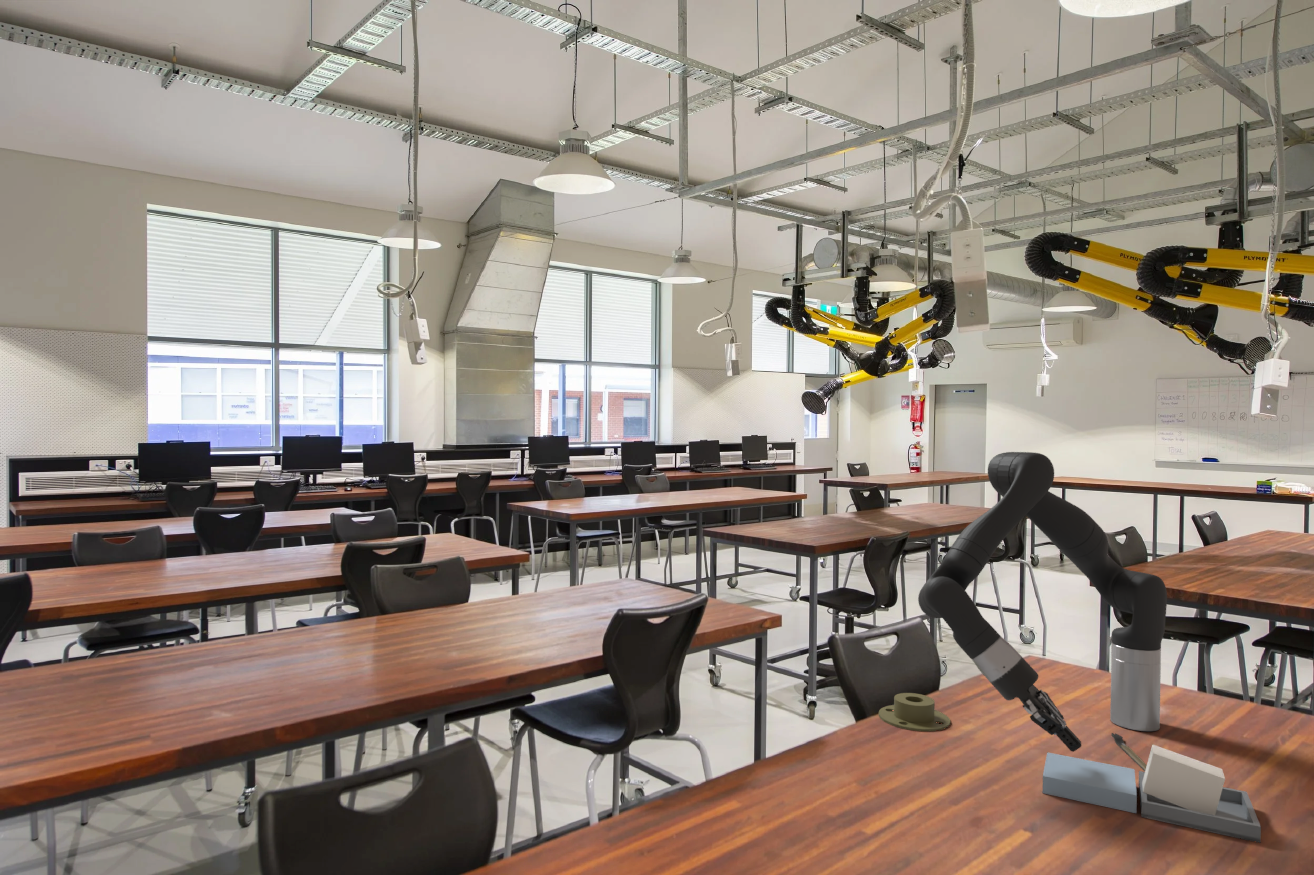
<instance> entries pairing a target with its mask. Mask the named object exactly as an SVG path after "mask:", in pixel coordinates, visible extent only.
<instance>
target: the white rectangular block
mask: <svg viewBox="0 0 1314 875" xmlns="http://www.w3.org/2000/svg"><path fill="white" fill-rule="evenodd" d="M1146 765H1147V766H1146V770H1145V771H1144V772H1145V774H1144V778H1143V781H1142V785H1143V792H1144V793H1147V794H1149V795H1152V796H1154V797H1157V798H1160V799H1162V800H1165V801H1167V802H1170V803H1173V804H1175V805H1178V806H1181V807H1183V808H1186V809H1188V810H1192V811H1197V812H1202V813H1207V814H1212V815H1215V814H1216V810H1217V806H1218V803H1219V799H1220V796H1221V792H1222V789H1223V787H1224V785H1225V781H1226V777H1225V774H1224V771H1223V768H1221V767H1217V766H1215V765H1212V764H1209V763H1206V762H1203V761H1201V760H1197V759H1195V758H1192V757H1189V756H1186V755H1183V754H1181V753H1178V752H1175V751H1173V750H1170V749H1168V748H1164V747H1161V746H1159V745H1156V744H1152V745H1151V749H1150V753H1149V755H1148V759H1147V763H1146Z"/></svg>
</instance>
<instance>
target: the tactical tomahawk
mask: <svg viewBox="0 0 1314 875" xmlns="http://www.w3.org/2000/svg"><path fill="white" fill-rule="evenodd" d="M1110 736H1111V737H1112V738H1113V740H1114V743H1115V744H1116V745H1117V746H1118V747H1119V748H1120V749H1121V750H1122V751H1123V752H1124V753H1125V754H1126V755H1128V757H1129V758H1130V759H1132V761H1133V762H1134V763H1135V764H1136V765H1138V767H1139V768H1140V769H1142V770H1143V772H1145V770H1146V766H1147V763H1145V762H1144V761H1143V760H1142V759H1141V758H1140V756H1138V754H1136V753H1135V751H1134V750H1132V748H1130V747H1129V745H1128V746H1127V744H1125V742H1124V738H1123V736H1121V735H1119V734H1118V733H1114V732H1111V735H1110Z"/></svg>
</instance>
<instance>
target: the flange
mask: <svg viewBox="0 0 1314 875" xmlns="http://www.w3.org/2000/svg"><path fill="white" fill-rule="evenodd" d="M893 700H894V701H893V704H892V705H891V704H890V705H886V706H884V707H881V708H880V709H879V711H878V718H879V719H880V720H882V721H883V723H886V724H888V725H890V726H893V727H895V728H900V729H902V730H908V731H913V732H914V731H915V732H937V731H936V730H939V731H942V729H943V730H945V729H944V728H946V727H948V726H949V725H950V726H951V719H950V717H949V716H948V715H947V714H945V713H944V712H941V711H939V710H936V708H935V704H936V701H935V700H934V699H933V697H930V696H927V695H924V694H921V693H914V692H901V693H900V692H899V693H897V694H895V695H894V697H893ZM892 710H894V711H892ZM936 722H939V723H942V724H939V723H936ZM950 726H949V727H950ZM949 727H948V728H949ZM946 729H947V728H946Z"/></svg>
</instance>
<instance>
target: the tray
mask: <svg viewBox="0 0 1314 875" xmlns="http://www.w3.org/2000/svg"><path fill="white" fill-rule="evenodd" d="M1144 774H1145V771H1142V770H1138V793H1139V802H1140V804H1139V805H1140V814H1141V818H1144V819H1149V820H1154V821H1159V822H1163V823H1168V824H1172V825H1177V826H1180V827H1186V828H1191V829H1195V830H1199V831H1205V832H1209V833H1212V834H1213V833H1214V834H1217V835H1222V836H1226V837H1231V838H1236V839H1240V838H1241V840H1245V841H1249V840H1250V841H1249V842H1254V841H1256V842H1255V843H1258V842H1259V844H1261V842H1262V841H1261V836H1262V832H1261V830H1262V826H1261V823H1260V821H1259V819H1258V817H1257V813H1256V812H1255V808H1254V806H1253V803H1252V801H1251V799H1250V797H1249V796H1250V795H1249V793H1248V792H1247V791H1245V790H1240V789H1235V788H1230V787H1224V786H1223V789H1222V792H1221V796H1220V799H1219V803H1218V806H1217V810H1216V814H1215V815H1212V814H1207V813H1202V812H1197V811H1192V810H1188V809H1186V808H1183V807H1181V806H1178V805H1175V804H1173V803H1170V802H1167V801H1165V800H1162V799H1160V798H1157V797H1154V796H1152V795H1149V794H1147V793H1144V792H1143V785H1142V781H1143V778H1144Z"/></svg>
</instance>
